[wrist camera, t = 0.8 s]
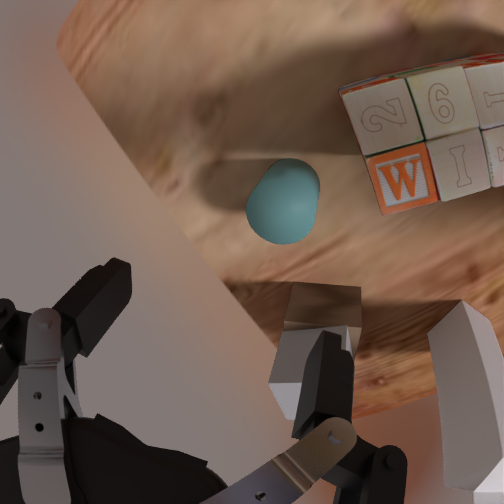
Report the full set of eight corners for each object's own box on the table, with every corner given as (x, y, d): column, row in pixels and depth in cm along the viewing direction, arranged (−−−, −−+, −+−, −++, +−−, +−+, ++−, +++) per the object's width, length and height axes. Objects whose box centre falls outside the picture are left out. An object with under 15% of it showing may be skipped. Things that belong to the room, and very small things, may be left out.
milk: (456, 349, 32) (476, 516, 14) (426, 332, 32) (441, 519, 14) (490, 318, 29) (532, 492, 11) (461, 297, 28) (505, 495, 10)
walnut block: (360, 286, 31) (361, 327, 26) (352, 334, 35) (350, 375, 30) (293, 281, 33) (283, 320, 28) (292, 329, 36) (283, 368, 31)
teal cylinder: (324, 164, 26) (321, 188, 21) (314, 216, 28) (307, 250, 23) (267, 153, 26) (249, 174, 21) (260, 205, 29) (243, 236, 24)
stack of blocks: (540, 47, 13) (628, 55, 3) (556, 111, 16) (641, 149, 6) (336, 87, 22) (338, 94, 12) (363, 157, 25) (381, 220, 14)
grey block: (346, 325, 26) (343, 380, 21) (354, 367, 29) (351, 418, 24) (282, 331, 29) (268, 383, 24) (297, 371, 31) (286, 419, 26)
